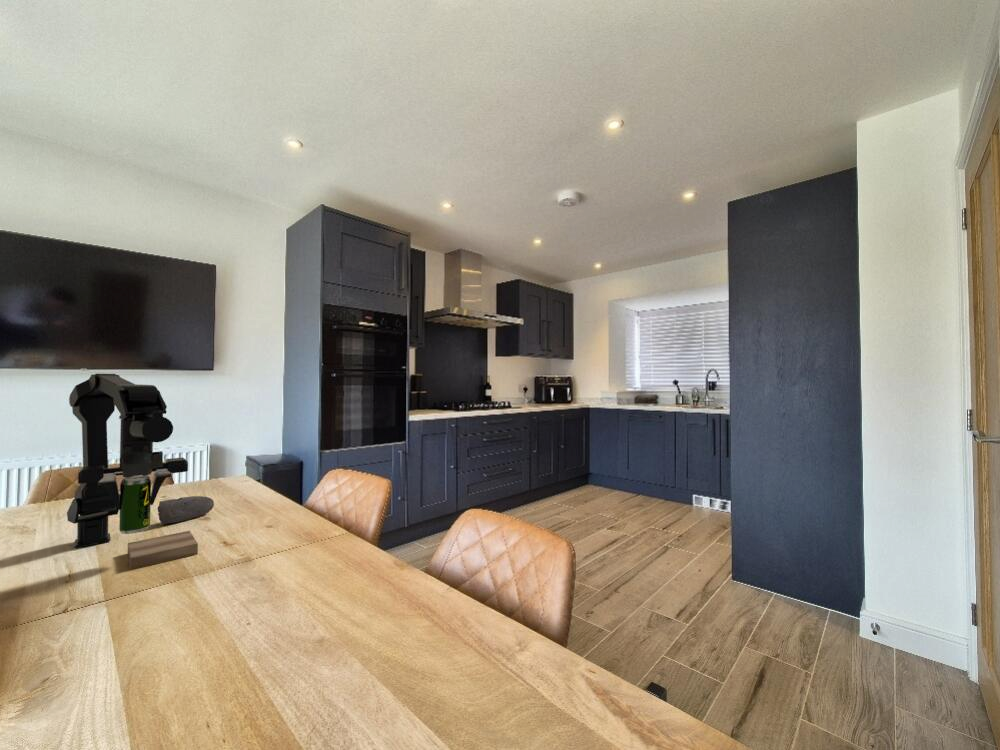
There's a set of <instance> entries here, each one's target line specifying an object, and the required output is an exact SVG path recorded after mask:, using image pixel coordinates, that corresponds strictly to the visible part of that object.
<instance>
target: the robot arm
mask: <svg viewBox="0 0 1000 750" xmlns="http://www.w3.org/2000/svg"><path fill="white" fill-rule="evenodd" d="M69 394H70V395H69V399H68V401H69V402H68V403H69V406H70V407H72V414H73V416H74V417H76V419H77V420H78V421H79V422H80V423H81V435H82V436H81V438H82V439H81V440H82V444H81V445H82V467H81V468H80V469H79V470H78V475H77V478H78V479H77V484H79V485H78V487H77V488H76V489H75V491H74V498H72V499H73V500H72V501H71V503H70V505H69V506H68V510H67V512H66V516H67V522H69V523H72V524H74V525H75V524H77V525H76V526H77V527H76V528H77V529H76V530H77V532H76V539H75V541H74V546H73V547H74V548H75V549H77V548H81V547H87V546H92V545H93V546H94V545H98V544H104V543H108V542H111V533H109V517H110V516H117V515H119V512H120V490H119V485H118V481H117V476H122V477H123V478H129V477H133V476H151V475H152V473H153V472H154V473H153V480H152V484H151V505H150V506H152V505H154V503H155V501H156V498H157V495H158V494H159V491H160V488H161V487H162V485H163V483H164V482H165V480H166V479H167V478H172V476H173V475H172V474H177V473H186V472H188V471H189V462H188V460H187V459H186V458H184V457H174V458H165V462H164V456H163V455H164V454H163V451H161V450H160V451H154V448H153V447H154V443H162V442H164V441H166V440H168V439H169V438H170V437H171V436H172V434H173V431H174V425H173V423H172V421H171V420H169V419H168V418H167V417H165V416H164V415H165V414H167V408H168V407H167V406H168V405H167V404H166V402H165V401H164V398H163V396H162V394H161V391H160V390H159V389H158V387H157V386H156V385H154V384H136V383H134V382H131V381H129V380H127V379H125V378H122V377H121V376H120V375H119V374H116V373H94V374H91V375H90V377H89V378H88V379H87V380H84V381H82V382H80V383H79V384H76V385H75V386H74V388H72V391H71V392H70V393H69ZM115 409H117V411H118V412H119V414H120V415H119V417H118V418H119V420H120V433H119V434H120V438H119V466H118V467H109V455H108V453H109V452H108V429H107V428H108V425H107V424H108V420H109V419H110V417H111V416H112V414H113V413H114V412H115Z"/></svg>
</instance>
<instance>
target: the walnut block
mask: <svg viewBox="0 0 1000 750" xmlns="http://www.w3.org/2000/svg"><path fill="white" fill-rule="evenodd" d="M198 548H199V543H198V541H197V540H196V538H195V537H194V535H193V534H192V532H191V530H187V531H186V530H185V531H182V532H175V533H171V534H167V535H160V536H157V537H156V536H155V537H151V538H147V539H141V540H136V541H132V542H128V543H127V557H128V561H129V562H128V563H129V567H130V570H135V569H140V568H143V567H144V568H145V567H148V566H152V565H153V566H154V565H157V564H160V563H165V562H169V561H173V560H178V559H183V558H186V557H191V556H196V555H198V552H199V549H198Z"/></svg>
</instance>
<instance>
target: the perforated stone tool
mask: <svg viewBox="0 0 1000 750" xmlns="http://www.w3.org/2000/svg"><path fill="white" fill-rule="evenodd" d="M214 505H215V502H214V500H213V498H212V497H207V496H201V495H196V496H195V495H194V496H185V497H183V496H182V497H179V498H174V499H173V498H172V499H166V500H165V499H164V500H160V501H159V502H158V506H157V512H158V513H157V515H158V519H159V522H160V523H161V524H162V525H167V524H168V525H169V524H175V523H179V522H185V521H188V520H193V519H196V518H199V517H202V516H204V515H206V514H208V513H209V512H210V511H211V510H212V509H214Z"/></svg>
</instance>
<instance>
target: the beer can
mask: <svg viewBox="0 0 1000 750" xmlns="http://www.w3.org/2000/svg"><path fill="white" fill-rule="evenodd" d="M151 481H152V479H151V475H146V476H143V475H139V476H132V477H129V478H126V477H123V478H122V479H121V482H120V484H119V488H120V489H119V494H120V510H119V525H118V527H119V529H118V530H119V532H120V534H124V535H130V534H136V533H141V532H144V531H146V530H148V529H149V527H150V526H151V506H152V505H151V491H152V482H151Z"/></svg>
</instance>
